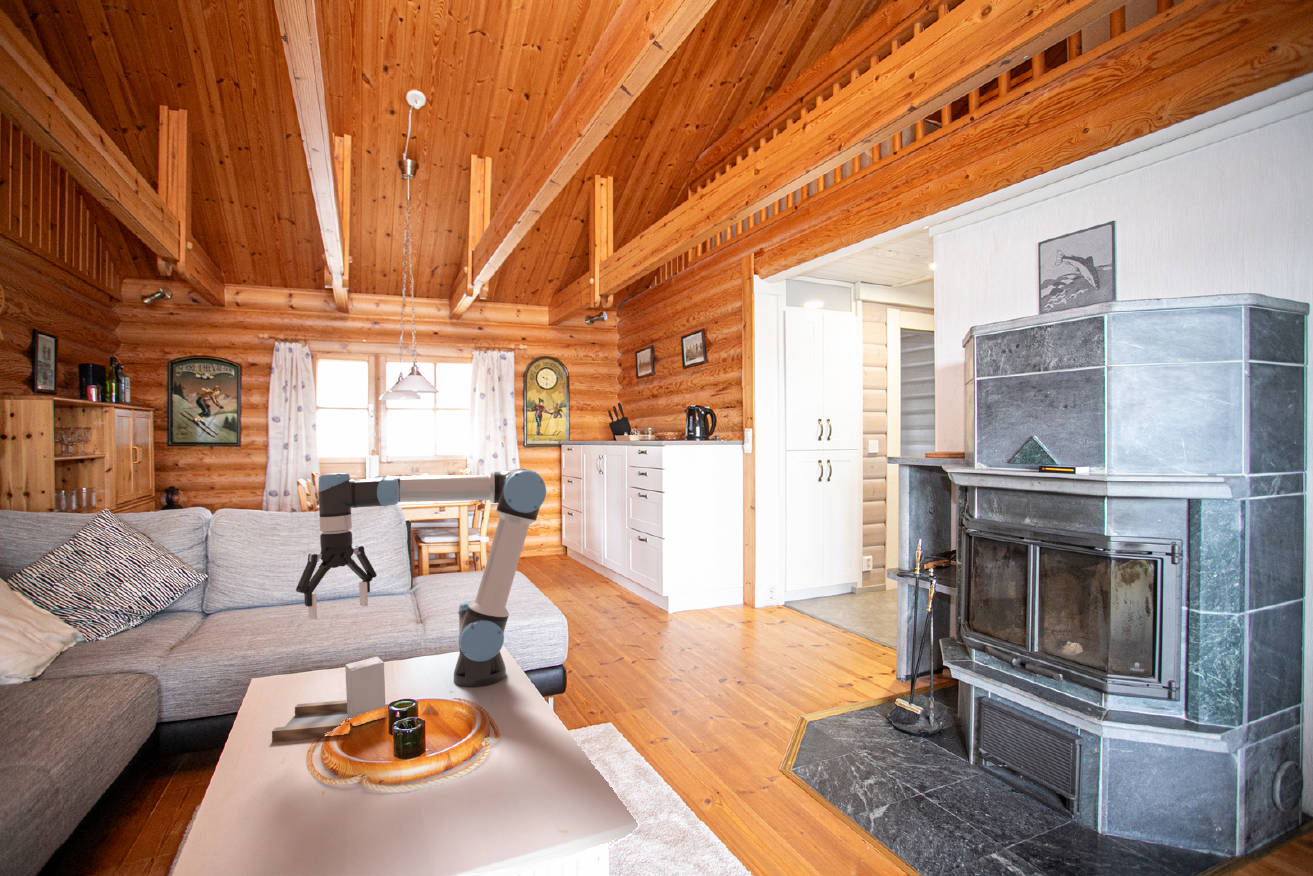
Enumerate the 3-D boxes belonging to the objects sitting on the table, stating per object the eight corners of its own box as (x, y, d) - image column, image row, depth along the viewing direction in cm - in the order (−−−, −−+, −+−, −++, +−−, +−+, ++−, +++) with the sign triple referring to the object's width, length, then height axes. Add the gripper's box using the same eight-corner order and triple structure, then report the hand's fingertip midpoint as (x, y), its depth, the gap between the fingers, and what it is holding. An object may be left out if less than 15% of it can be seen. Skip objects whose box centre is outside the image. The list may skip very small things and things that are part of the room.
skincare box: (379, 711, 166) (379, 655, 166) (386, 719, 161) (385, 661, 161) (345, 721, 161) (344, 662, 161) (351, 729, 156) (350, 669, 156)
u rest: (366, 707, 168) (366, 698, 168) (348, 734, 153) (348, 724, 153) (297, 713, 165) (297, 704, 165) (272, 742, 150) (271, 731, 150)
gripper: (373, 524, 178) (375, 599, 178) (279, 537, 158) (282, 622, 158) (387, 525, 174) (390, 602, 174) (293, 539, 153) (296, 626, 153)
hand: (339, 611), depth 166 cm, fingers open, 13 cm apart
